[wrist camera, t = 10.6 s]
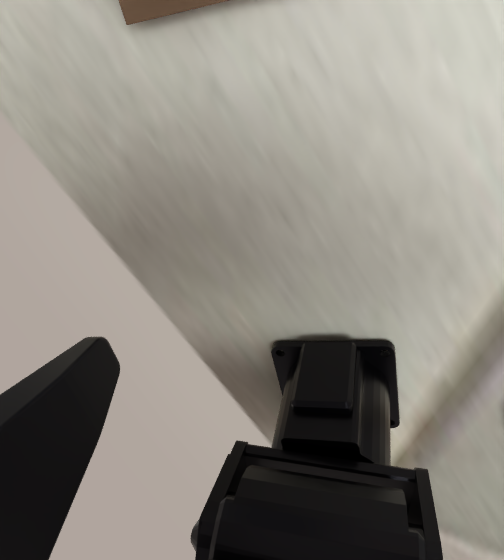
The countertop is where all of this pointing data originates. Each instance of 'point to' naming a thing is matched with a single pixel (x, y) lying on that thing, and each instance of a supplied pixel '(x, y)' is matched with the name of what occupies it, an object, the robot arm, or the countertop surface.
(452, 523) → the countertop surface
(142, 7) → the roll holder
